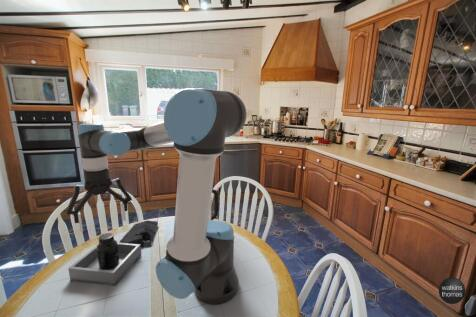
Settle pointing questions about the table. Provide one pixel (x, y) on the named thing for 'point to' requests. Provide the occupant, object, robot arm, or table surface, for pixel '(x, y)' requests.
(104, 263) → the supplement bottle
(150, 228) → the dark slate chunk
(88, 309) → the table surface
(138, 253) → the bin
